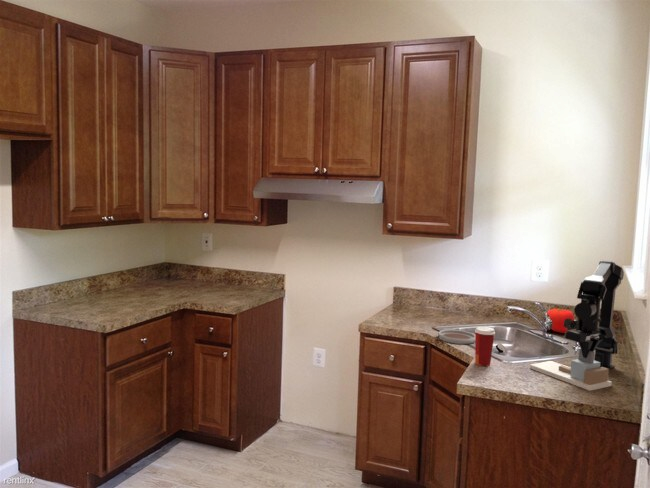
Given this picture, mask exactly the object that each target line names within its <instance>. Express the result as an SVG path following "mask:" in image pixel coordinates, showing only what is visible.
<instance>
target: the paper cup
mask: <svg viewBox="0 0 650 488" xmlns="http://www.w3.org/2000/svg"><path fill="white" fill-rule="evenodd" d="M474 332H475V333H474V334H475V342H474V343H475V344H474V346H475V348H474V351H475V353H474V357H475V358H474V363H475V365H477V366H479V367H489V366H491V362H492V354H493V345H494V339H495V338H494V335H495V334H496V332H495V328H492V327H488V326H478V327H476V328H475V330H474Z"/></svg>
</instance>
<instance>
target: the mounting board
mask: <svg viewBox="0 0 650 488" xmlns="http://www.w3.org/2000/svg"><path fill="white" fill-rule="evenodd" d="M529 369H531V370H534V371H536V372H539V373H541V374H544V375H547V376H550V377H552V378H554V379H557V380H560V381H563V382H566V383H568V384H571V385H573V386H575V387H579V388H581V389H584V390H586V391H590V392H591V391H594V390H595V391H596V390H599V389H603V388H608V387H612V383H613V381H610V380H609V373H610V372H609V371H610V368H609V369H607V368H604V367H599V368H594V369H589V370H585V371H584V381H582V380H579V379H576V378H573V377H571V376H570V374H571V371H570V370H571V366H567V365H564V364H562V363H559V362H556V361H552V360H547V361H543V362H536V363H531V364H529Z"/></svg>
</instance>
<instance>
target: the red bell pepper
mask: <svg viewBox="0 0 650 488" xmlns="http://www.w3.org/2000/svg"><path fill="white" fill-rule="evenodd" d="M546 313H547V314H548V315H549V317H550V319H551V320H552V321H553V325H552V330H553V332H557V333H559V334H560V333H561V334H565V332H567V331H569V330H567V328H565V327H564V320H565V319H570V318H571V319H572V321H575V316H574V314H573V312H572V311H570V310H567V309H564V308H563V309H562V308H558V307H557V308H551V309H549V310H547V312H546ZM552 330H551V331H552ZM570 330H573V329H570Z"/></svg>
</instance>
